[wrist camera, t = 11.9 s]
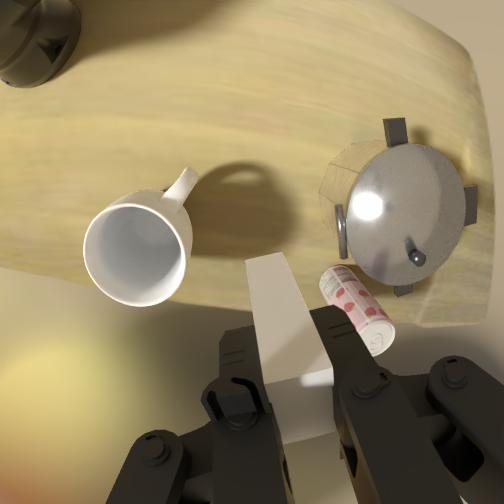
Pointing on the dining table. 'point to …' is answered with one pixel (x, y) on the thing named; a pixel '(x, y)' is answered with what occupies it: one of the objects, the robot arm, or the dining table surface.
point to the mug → (142, 244)
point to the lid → (404, 214)
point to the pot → (348, 168)
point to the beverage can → (358, 307)
